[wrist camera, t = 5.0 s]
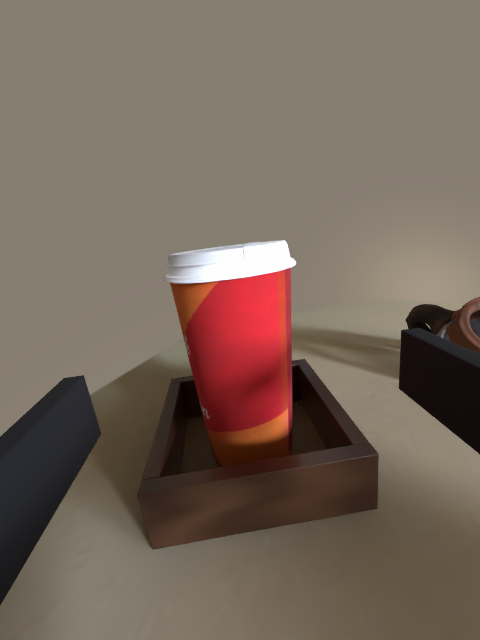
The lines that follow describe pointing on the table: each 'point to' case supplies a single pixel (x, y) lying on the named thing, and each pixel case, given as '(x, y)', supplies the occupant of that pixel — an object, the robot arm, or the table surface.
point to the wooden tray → (255, 473)
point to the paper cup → (239, 345)
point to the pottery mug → (450, 323)
